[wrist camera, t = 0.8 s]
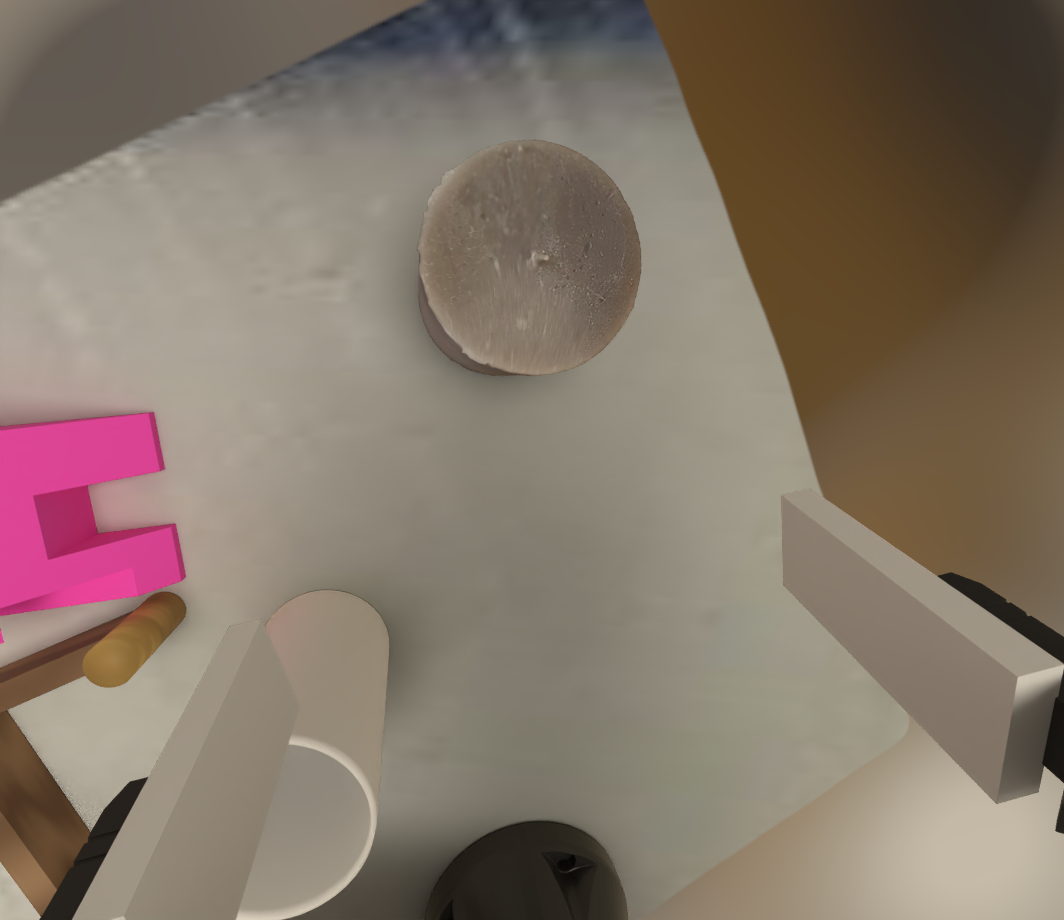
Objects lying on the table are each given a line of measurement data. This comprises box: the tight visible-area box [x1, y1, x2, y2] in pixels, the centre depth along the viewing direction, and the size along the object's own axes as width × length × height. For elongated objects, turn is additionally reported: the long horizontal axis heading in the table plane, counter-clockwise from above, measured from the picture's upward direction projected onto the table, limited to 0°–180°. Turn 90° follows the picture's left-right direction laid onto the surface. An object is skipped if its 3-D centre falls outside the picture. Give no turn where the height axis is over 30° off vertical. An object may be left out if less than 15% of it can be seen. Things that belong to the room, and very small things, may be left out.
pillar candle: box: [417, 140, 641, 376], centre depth 31 cm, size 10×10×15 cm
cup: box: [236, 590, 389, 920], centre depth 31 cm, size 8×8×16 cm
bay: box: [0, 592, 186, 917], centre depth 34 cm, size 16×13×7 cm
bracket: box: [0, 412, 186, 644], centre depth 30 cm, size 12×10×10 cm
